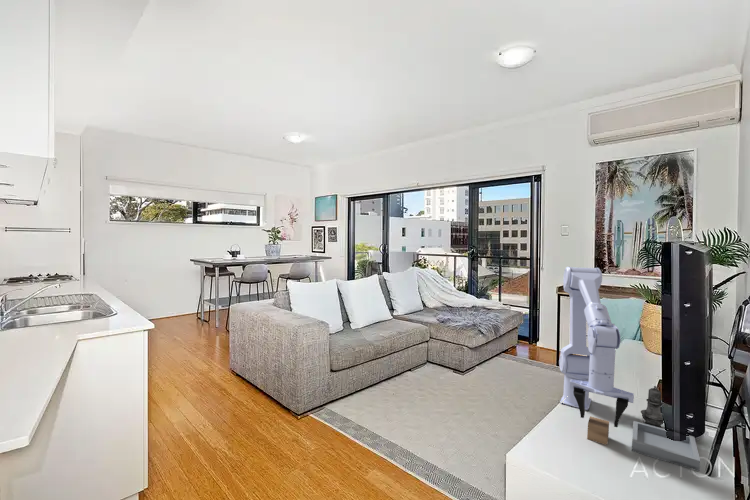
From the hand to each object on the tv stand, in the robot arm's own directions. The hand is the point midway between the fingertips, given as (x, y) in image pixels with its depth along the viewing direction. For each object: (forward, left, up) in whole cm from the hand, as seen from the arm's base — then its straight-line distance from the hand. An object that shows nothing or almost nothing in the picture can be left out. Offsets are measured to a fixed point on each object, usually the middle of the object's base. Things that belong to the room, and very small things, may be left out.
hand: (598, 420), depth 99 cm
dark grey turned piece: (-17, +12, -5) cm, 21 cm away
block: (0, 0, -5) cm, 5 cm away
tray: (-5, +14, -5) cm, 16 cm away
